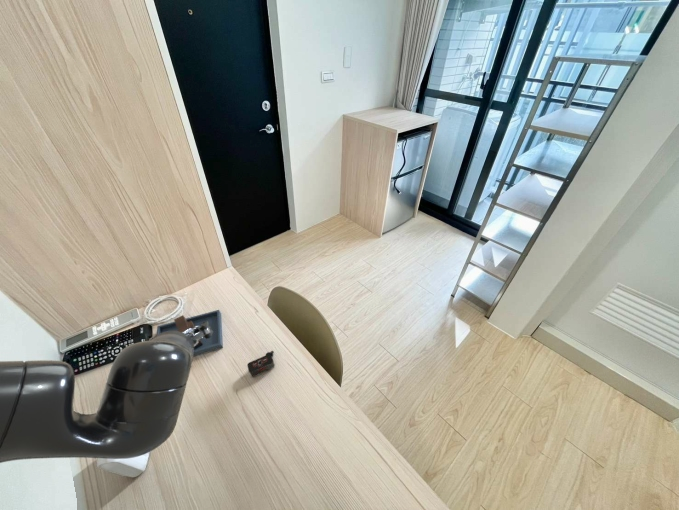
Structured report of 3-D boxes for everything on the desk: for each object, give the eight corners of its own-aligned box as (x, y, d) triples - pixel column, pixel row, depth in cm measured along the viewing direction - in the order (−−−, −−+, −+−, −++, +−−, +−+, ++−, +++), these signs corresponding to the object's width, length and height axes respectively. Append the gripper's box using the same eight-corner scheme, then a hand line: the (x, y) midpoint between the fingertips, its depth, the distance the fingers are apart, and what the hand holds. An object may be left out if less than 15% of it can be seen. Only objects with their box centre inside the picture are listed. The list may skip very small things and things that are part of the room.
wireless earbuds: (278, 366, 73) (276, 361, 71) (252, 378, 70) (249, 373, 68) (273, 351, 76) (271, 346, 73) (248, 362, 73) (245, 357, 71)
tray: (155, 368, 72) (151, 364, 71) (160, 329, 80) (157, 326, 79) (222, 347, 76) (220, 344, 75) (221, 313, 85) (219, 309, 83)
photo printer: (137, 425, 63) (106, 407, 54) (157, 419, 63) (130, 402, 55) (123, 480, 55) (85, 470, 47) (146, 474, 56) (112, 463, 48)
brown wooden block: (203, 344, 76) (193, 331, 71) (188, 352, 75) (177, 339, 70) (194, 325, 81) (185, 311, 76) (180, 332, 79) (169, 318, 74)
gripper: (200, 314, 45) (201, 308, 60) (99, 365, 39) (128, 345, 53) (221, 352, 46) (217, 338, 60) (125, 409, 39) (146, 378, 54)
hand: (175, 341), depth 57 cm, fingers open, 8 cm apart
